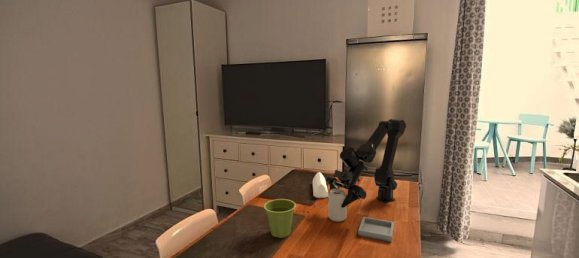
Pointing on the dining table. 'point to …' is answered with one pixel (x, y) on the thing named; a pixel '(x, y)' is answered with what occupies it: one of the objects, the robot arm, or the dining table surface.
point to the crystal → (319, 186)
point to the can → (336, 205)
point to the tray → (376, 229)
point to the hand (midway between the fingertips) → (335, 204)
